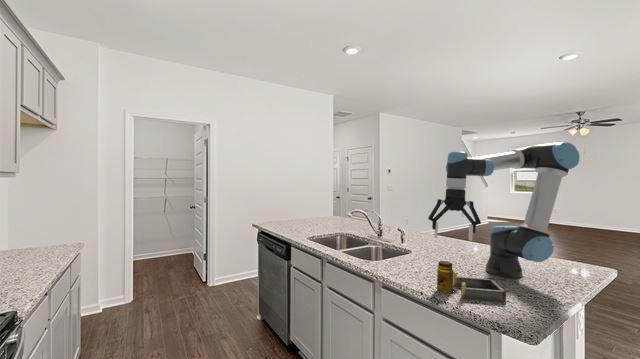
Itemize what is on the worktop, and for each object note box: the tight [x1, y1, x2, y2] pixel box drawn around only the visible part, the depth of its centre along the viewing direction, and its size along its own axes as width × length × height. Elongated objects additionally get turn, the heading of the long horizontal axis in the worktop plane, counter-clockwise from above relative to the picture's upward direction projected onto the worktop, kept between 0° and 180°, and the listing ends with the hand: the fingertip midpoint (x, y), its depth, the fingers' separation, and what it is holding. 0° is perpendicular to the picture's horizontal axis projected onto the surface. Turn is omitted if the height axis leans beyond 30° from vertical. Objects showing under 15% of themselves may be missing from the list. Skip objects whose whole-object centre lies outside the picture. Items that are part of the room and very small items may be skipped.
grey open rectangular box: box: [453, 271, 507, 303], centre depth 116 cm, size 16×14×6 cm
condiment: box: [433, 260, 459, 297], centre depth 118 cm, size 7×8×12 cm
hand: (452, 238), depth 121 cm, fingers open, 13 cm apart
